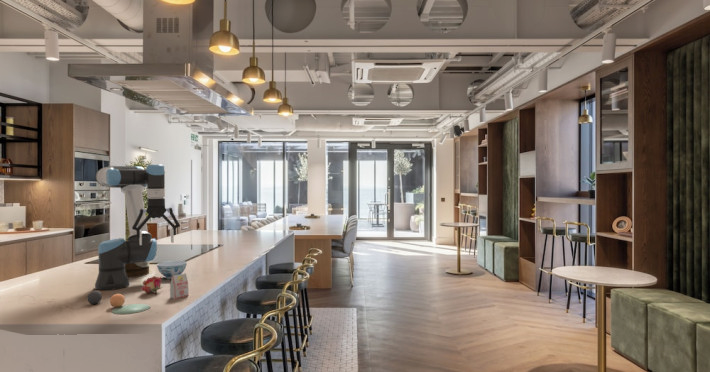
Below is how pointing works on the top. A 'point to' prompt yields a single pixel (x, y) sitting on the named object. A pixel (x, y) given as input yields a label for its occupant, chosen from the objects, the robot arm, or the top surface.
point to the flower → (152, 284)
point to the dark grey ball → (94, 297)
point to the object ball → (117, 300)
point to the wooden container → (137, 269)
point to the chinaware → (171, 268)
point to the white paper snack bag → (179, 286)
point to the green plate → (130, 309)
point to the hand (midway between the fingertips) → (156, 243)
